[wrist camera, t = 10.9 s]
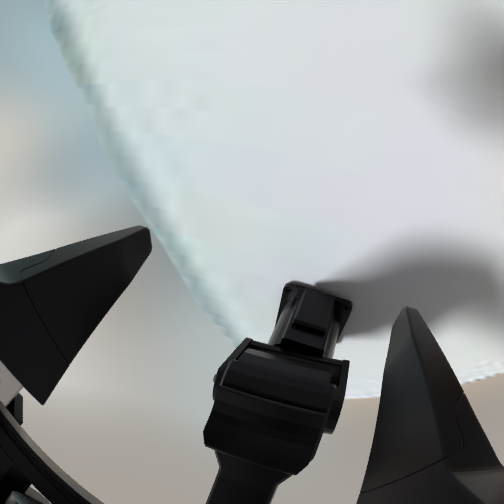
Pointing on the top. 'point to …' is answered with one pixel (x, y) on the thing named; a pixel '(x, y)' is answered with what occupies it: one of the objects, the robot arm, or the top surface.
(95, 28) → the top surface
